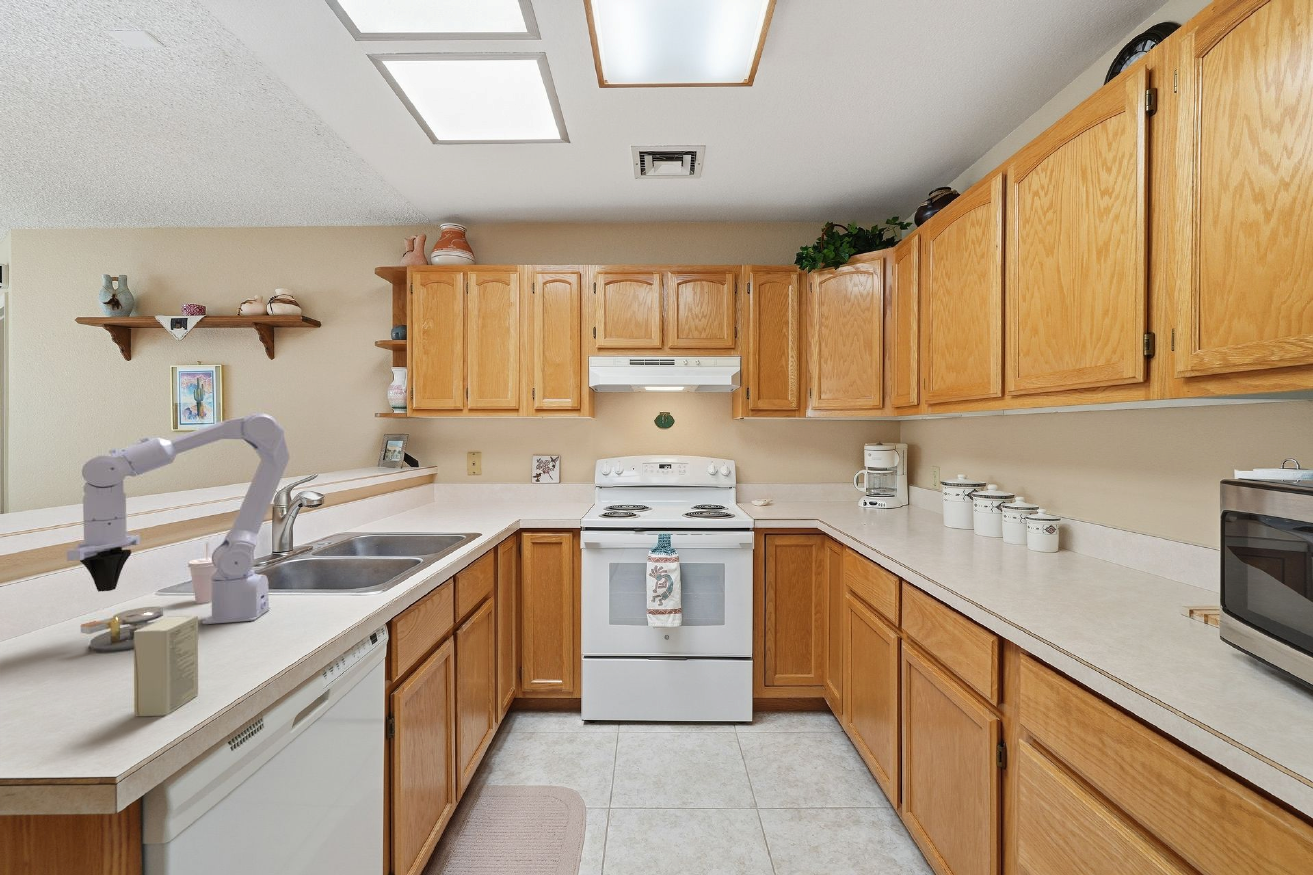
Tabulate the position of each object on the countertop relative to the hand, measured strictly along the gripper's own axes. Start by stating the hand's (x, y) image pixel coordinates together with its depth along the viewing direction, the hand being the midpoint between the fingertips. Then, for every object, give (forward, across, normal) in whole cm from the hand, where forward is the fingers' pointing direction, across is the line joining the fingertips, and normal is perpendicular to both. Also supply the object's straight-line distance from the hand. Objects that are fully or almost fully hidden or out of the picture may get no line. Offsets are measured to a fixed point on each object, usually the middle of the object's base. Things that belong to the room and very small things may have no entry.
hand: (106, 590), depth 103 cm
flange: (+6, +2, +4) cm, 7 cm away
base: (+10, 0, +5) cm, 11 cm away
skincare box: (+10, +31, +28) cm, 43 cm away
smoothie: (+10, -25, +3) cm, 27 cm away
